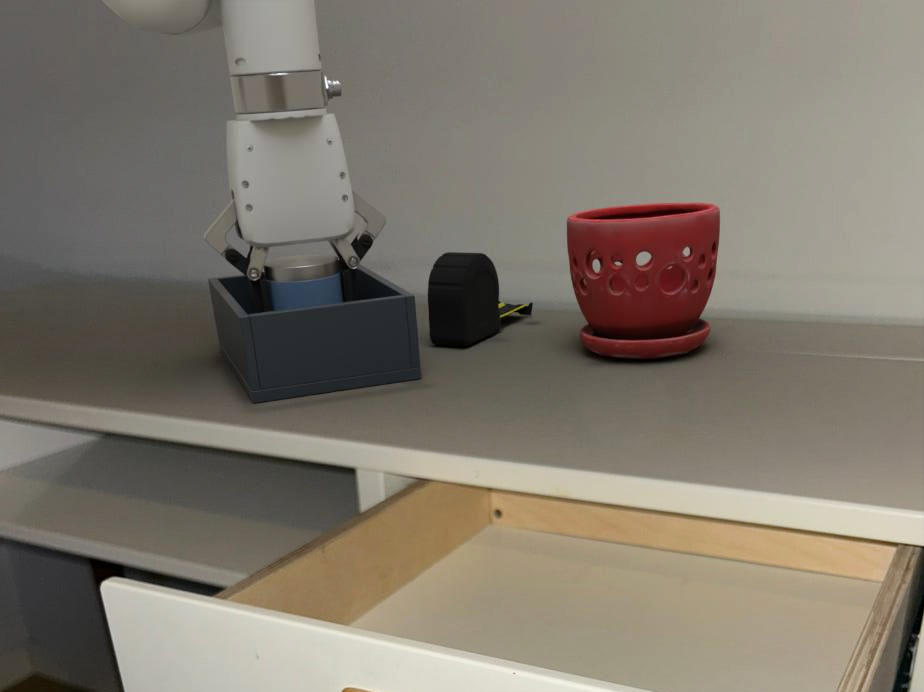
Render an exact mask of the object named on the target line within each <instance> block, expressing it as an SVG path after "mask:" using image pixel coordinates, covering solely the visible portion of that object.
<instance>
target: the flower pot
mask: <svg viewBox="0 0 924 692" xmlns="http://www.w3.org/2000/svg"><path fill="white" fill-rule="evenodd" d="M720 233H721V209H720V207H719V206H718V205H716V204H714V203H707V202H658V203H642V204H641V203H640V204H630V205H629V204H628V205H617V206H608V207H602V208H594V209H589V210H584V211H579V212H575V213H573V214H570V215H569V216H568V217H567V218H566V245H567V254H568V255H567V256H568V264H569V275H570V279H571V284H572V289H573V292H574V296H575V298H576V302H577V304H578V307H579V309H580V312H581V313H582V315H583V317H584V320H585V321H586V322H587V324H585V325H583V327H581V329H580V331H579V339H580V341H581V343H582V344H583V345H584V346H585V347H586V348H587V349H588V350H590V351H591V352H593V353H594V354H595V353H596V354H597V356H599V357H609V358H610V357H611V358H618V359H626V360H627V359H628V360H646V359H649V360H650V359H651V360H652V359H660V358H669V357H674V356H678V355H681V356H682V355H683V356H684V355H688V354H689V352H690V351H693V350H694V349H696V348H697V347H699V346H700V345H702V344H703V343H704V342H705V341H706V339H707V338H708V336H709V335H710V333H711V323H709V321H707V320H705V319H702V318H701V316H702V314H703V313H704V310H705V308H706V306H707V304H708V302H709V299H710V297H711V294H712V290H713V287H714V283H715V279H716V275H717V274H716V273H717V262H718V255H719V246H720ZM686 248H688V249H689V254H688V255H685V254H684V253H683V252H684V251H685V249H686ZM643 252H645V253H649V255H650V256H651V257H650V259H649V260H648V261H647V262H646V263H643V264H638V262H637V258H638V255H639V254H641V253H643ZM595 260H598V262H599V270H598V272H596V271H595V269H594V266H593V264H594V261H595ZM617 263H620V264H617Z"/></svg>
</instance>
